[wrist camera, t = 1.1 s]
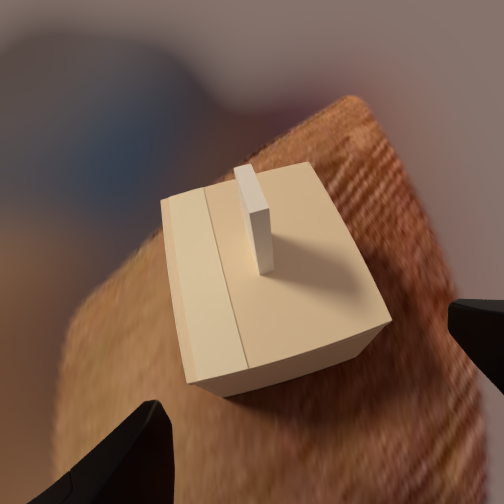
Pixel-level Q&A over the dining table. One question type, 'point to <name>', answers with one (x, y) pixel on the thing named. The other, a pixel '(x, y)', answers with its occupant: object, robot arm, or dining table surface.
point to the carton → (290, 367)
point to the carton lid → (263, 273)
